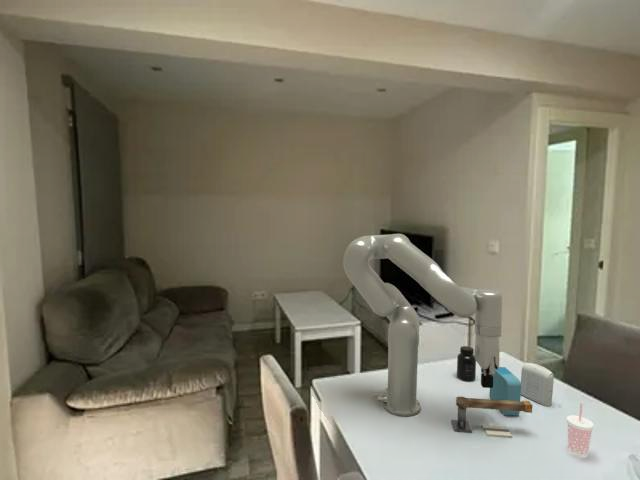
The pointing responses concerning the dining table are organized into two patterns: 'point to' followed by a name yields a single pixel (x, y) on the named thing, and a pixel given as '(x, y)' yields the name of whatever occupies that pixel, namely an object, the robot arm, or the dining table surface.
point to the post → (461, 422)
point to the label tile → (496, 431)
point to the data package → (505, 388)
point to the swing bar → (494, 404)
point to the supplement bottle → (466, 364)
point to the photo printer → (537, 383)
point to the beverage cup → (579, 434)
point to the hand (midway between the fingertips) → (486, 386)
